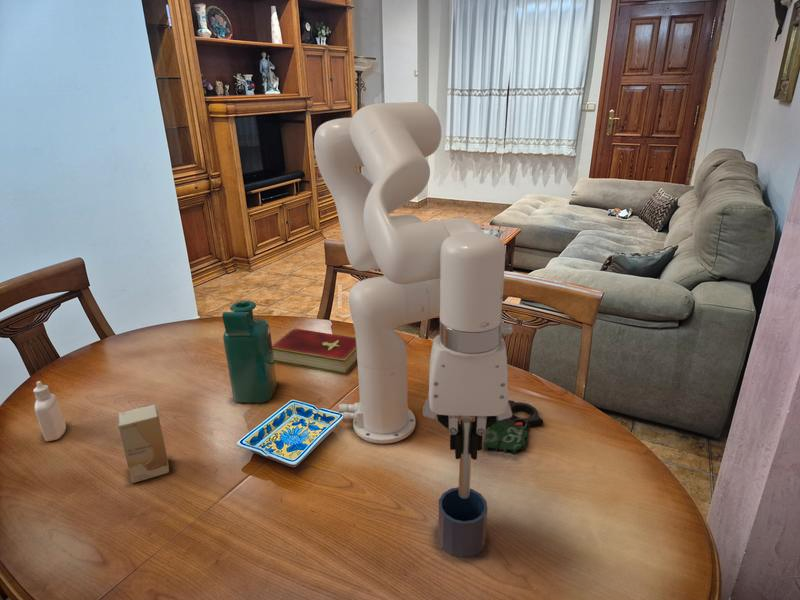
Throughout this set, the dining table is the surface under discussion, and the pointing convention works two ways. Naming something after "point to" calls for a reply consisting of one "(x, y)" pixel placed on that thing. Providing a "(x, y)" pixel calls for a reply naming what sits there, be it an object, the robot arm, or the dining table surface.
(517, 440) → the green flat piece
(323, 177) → the robot arm
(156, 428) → the cosmetic box
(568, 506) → the dining table surface
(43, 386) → the eye dropper bottle
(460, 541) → the pen cup
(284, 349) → the hardcover book
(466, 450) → the stylus
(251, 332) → the green bottle
